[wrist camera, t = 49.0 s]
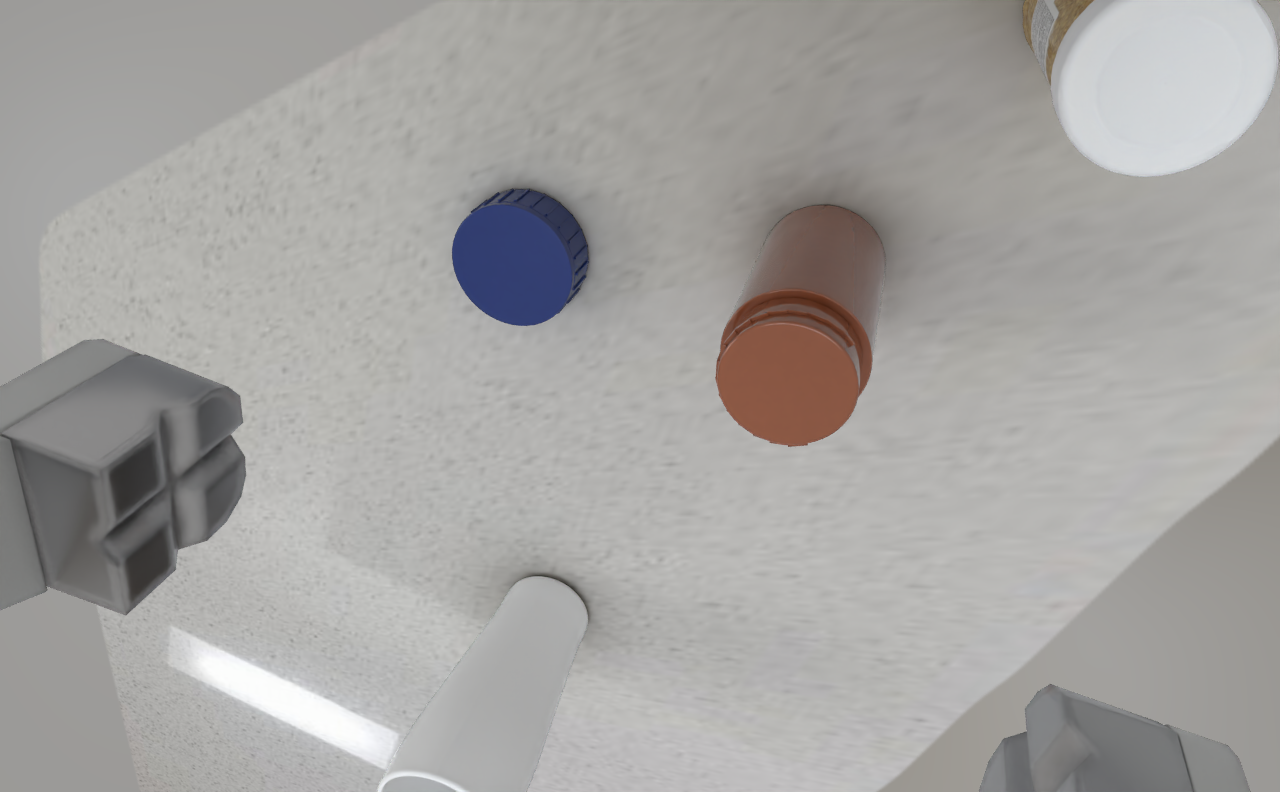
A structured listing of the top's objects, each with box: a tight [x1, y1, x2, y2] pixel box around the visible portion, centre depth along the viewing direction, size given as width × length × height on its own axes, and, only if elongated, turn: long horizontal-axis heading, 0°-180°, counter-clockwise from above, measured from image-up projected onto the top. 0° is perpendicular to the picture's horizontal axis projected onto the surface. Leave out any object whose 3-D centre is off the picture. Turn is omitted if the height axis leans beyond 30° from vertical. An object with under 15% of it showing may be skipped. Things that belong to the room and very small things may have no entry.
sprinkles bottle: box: [1023, 0, 1278, 177], centre depth 26 cm, size 5×5×13 cm
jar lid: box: [452, 189, 589, 326], centre depth 42 cm, size 6×6×2 cm
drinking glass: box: [377, 576, 588, 792], centre depth 49 cm, size 7×7×15 cm
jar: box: [715, 205, 886, 447], centre depth 35 cm, size 5×5×11 cm
